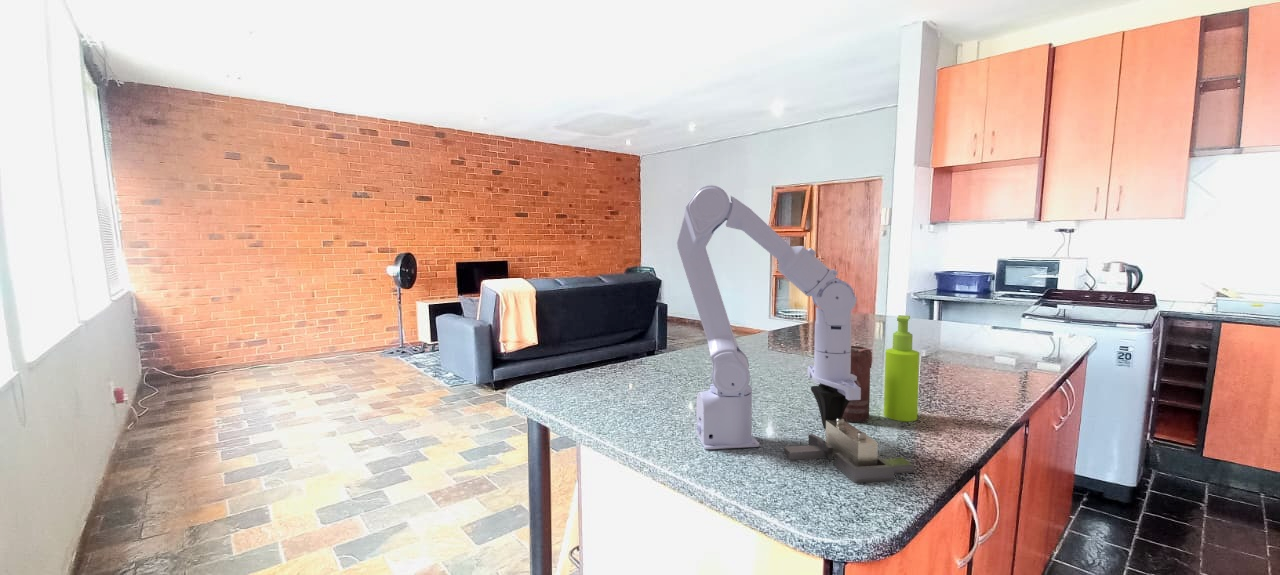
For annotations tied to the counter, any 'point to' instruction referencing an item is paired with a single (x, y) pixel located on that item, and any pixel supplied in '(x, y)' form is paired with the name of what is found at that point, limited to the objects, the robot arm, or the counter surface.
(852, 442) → the studded metal block
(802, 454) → the grey linked bars
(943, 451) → the counter surface
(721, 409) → the robot arm
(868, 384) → the can
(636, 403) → the counter surface
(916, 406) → the soap dispenser
